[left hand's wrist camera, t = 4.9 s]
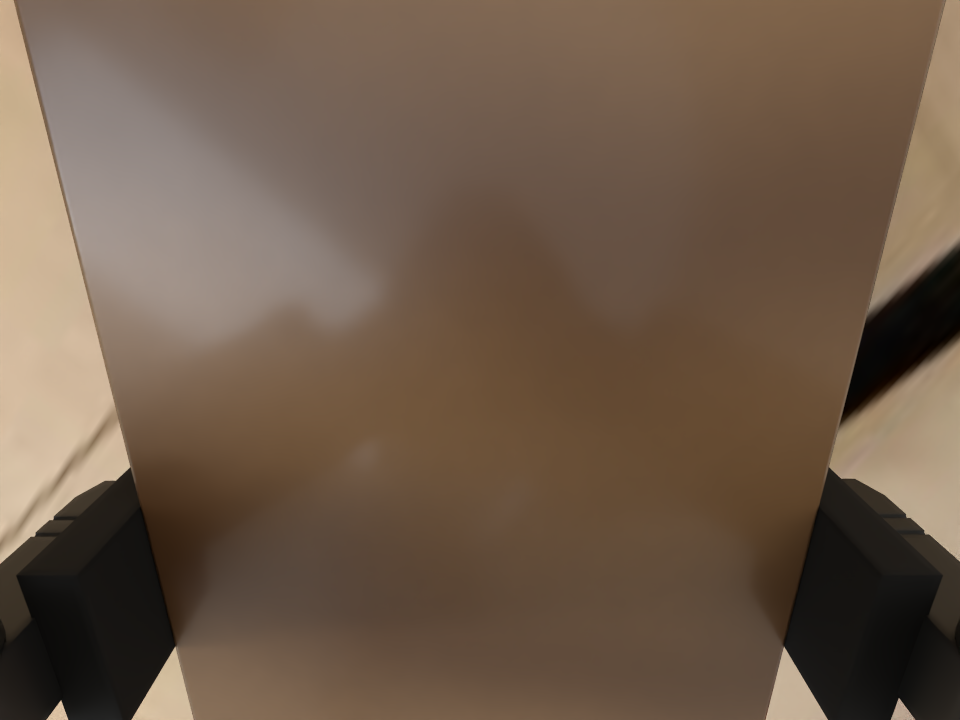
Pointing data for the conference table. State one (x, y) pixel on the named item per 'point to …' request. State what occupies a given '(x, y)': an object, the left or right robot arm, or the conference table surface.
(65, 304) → the conference table surface
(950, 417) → the conference table surface
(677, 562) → the cabinet
